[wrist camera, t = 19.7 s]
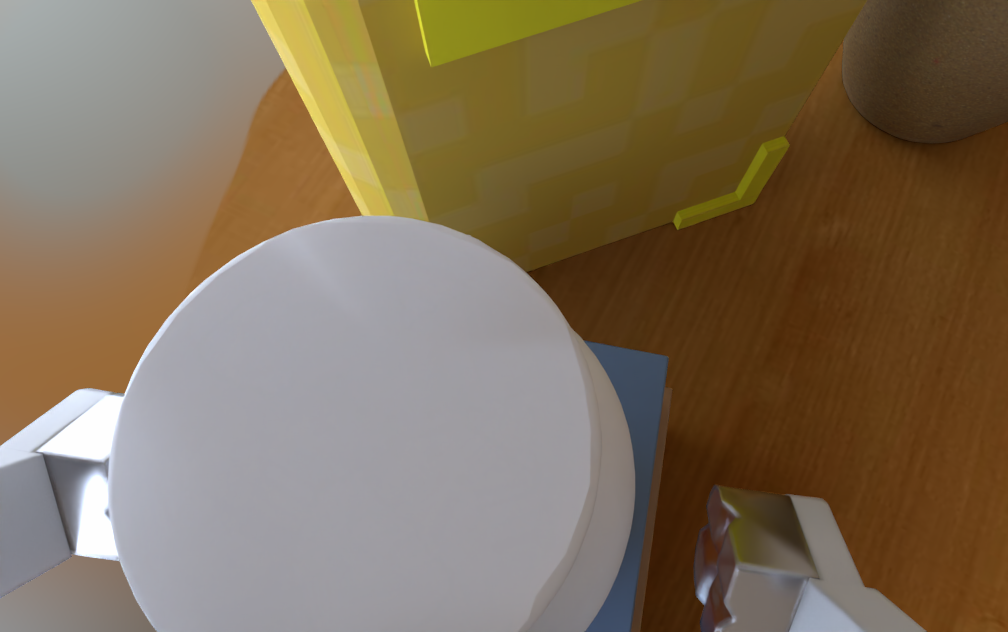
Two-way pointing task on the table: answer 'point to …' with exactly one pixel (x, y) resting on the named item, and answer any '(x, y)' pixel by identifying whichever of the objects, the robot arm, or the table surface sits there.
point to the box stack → (636, 474)
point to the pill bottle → (370, 445)
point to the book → (555, 108)
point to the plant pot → (929, 67)
